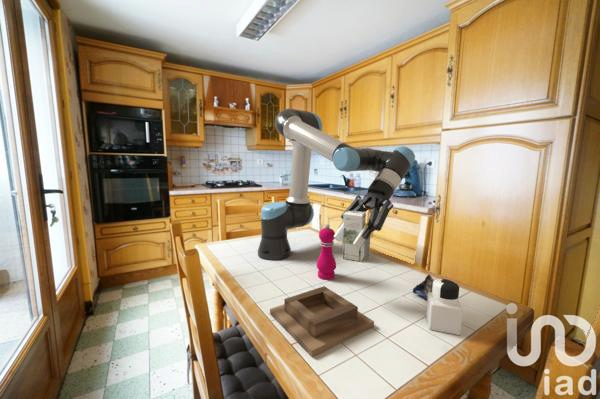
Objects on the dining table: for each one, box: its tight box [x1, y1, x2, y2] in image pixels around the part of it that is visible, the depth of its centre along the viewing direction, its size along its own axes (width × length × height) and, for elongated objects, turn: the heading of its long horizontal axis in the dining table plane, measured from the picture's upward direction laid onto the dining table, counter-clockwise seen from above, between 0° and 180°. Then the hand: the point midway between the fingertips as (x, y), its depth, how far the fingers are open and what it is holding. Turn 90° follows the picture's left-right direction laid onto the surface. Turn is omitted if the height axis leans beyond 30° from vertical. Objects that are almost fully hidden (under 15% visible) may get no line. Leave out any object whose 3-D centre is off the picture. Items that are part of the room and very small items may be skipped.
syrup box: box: [342, 211, 367, 263], centre depth 83 cm, size 6×6×14 cm
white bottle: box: [425, 278, 464, 336], centre depth 70 cm, size 7×7×12 cm
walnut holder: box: [269, 285, 375, 358], centre depth 73 cm, size 20×20×5 cm
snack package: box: [412, 274, 436, 301], centre depth 86 cm, size 12×6×12 cm
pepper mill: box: [316, 223, 337, 281], centre depth 99 cm, size 7×7×20 cm
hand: (345, 242), depth 81 cm, fingers closed on syrup box, 8 cm apart
